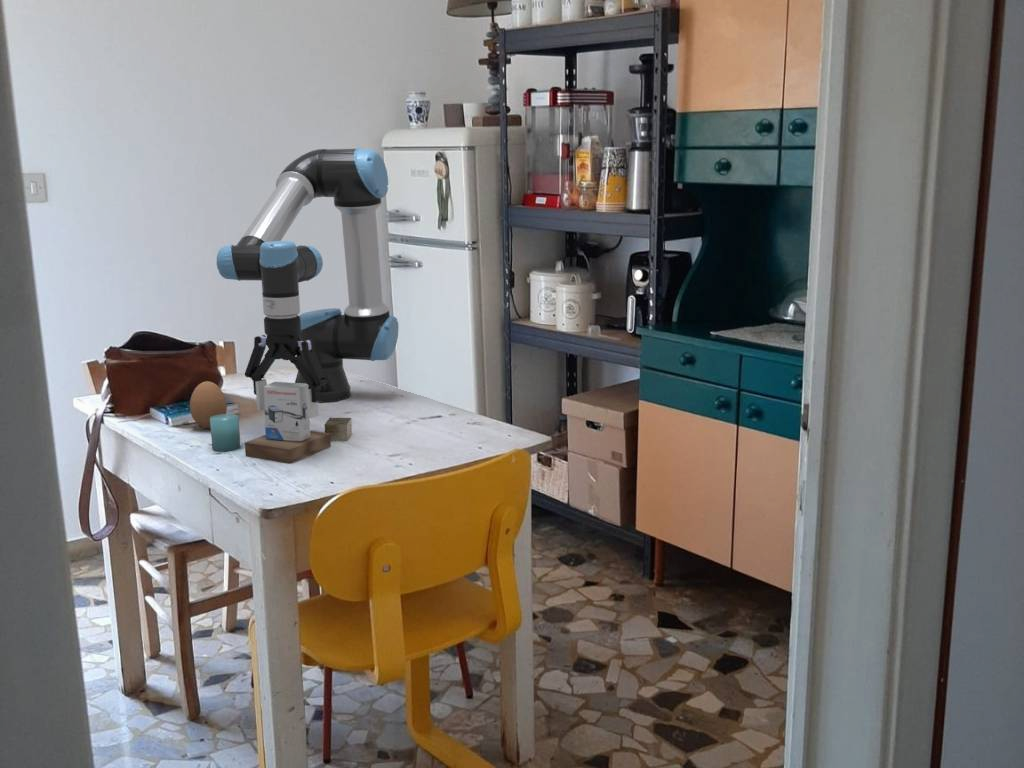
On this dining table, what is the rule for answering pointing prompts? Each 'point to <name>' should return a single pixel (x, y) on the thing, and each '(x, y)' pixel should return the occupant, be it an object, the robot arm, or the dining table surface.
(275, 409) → the ink box
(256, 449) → the stand
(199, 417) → the egg
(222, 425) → the teal pillar candle
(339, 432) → the brass tin
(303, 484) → the dining table surface
